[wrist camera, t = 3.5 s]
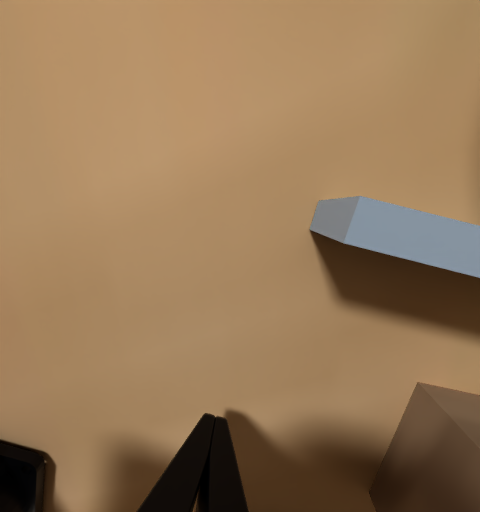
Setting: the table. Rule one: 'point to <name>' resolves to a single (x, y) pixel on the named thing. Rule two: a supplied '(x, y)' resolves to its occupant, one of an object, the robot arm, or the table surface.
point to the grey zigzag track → (400, 232)
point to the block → (432, 455)
